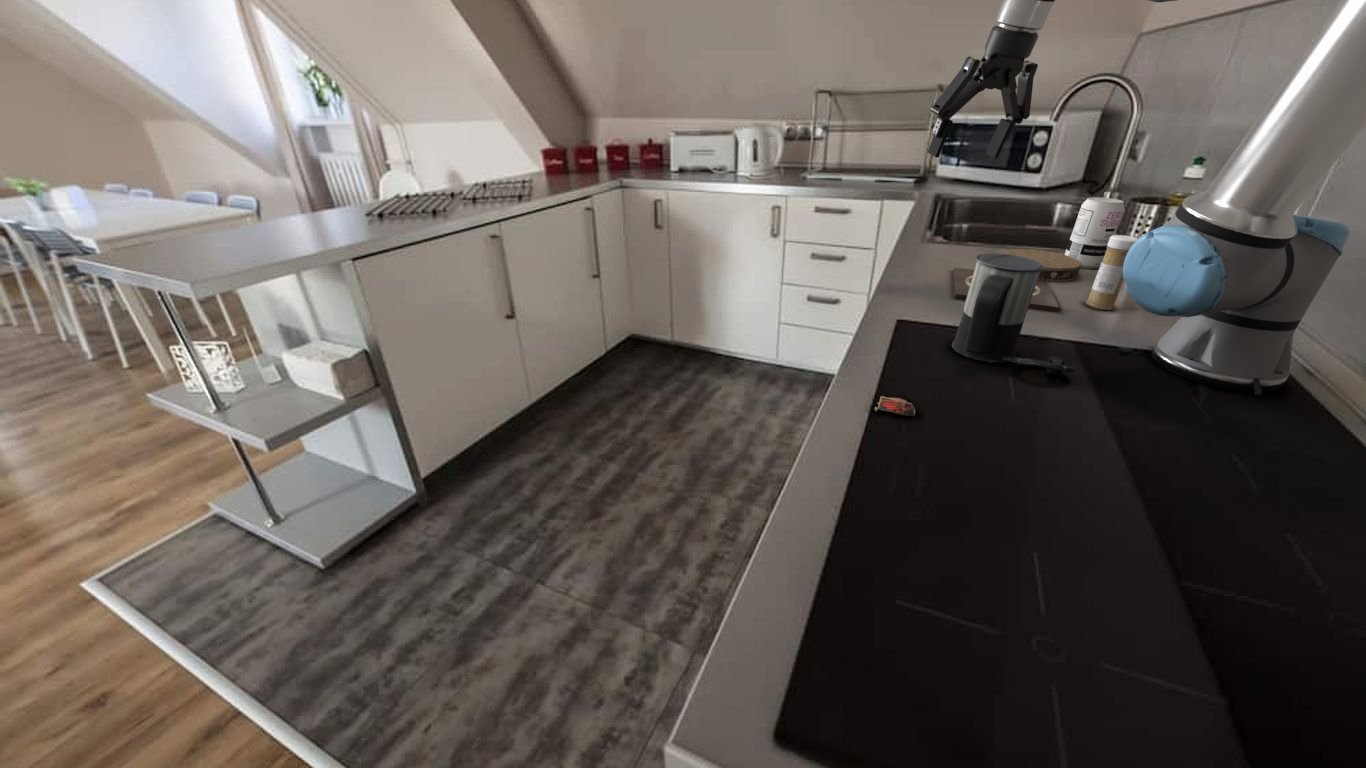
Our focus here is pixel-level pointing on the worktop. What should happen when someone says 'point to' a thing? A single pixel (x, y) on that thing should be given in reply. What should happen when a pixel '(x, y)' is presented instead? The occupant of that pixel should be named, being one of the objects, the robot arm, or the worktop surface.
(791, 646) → the worktop surface
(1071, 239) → the supplement can
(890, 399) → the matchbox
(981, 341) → the milk frother
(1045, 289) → the serving tray
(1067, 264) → the brown round flat disc
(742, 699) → the worktop surface
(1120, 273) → the sprinkles bottle
